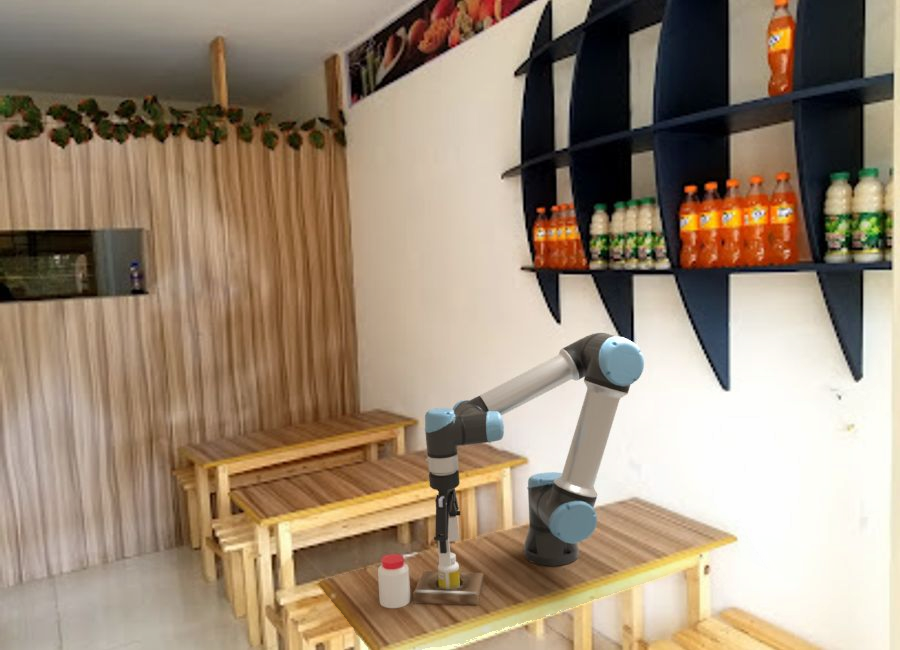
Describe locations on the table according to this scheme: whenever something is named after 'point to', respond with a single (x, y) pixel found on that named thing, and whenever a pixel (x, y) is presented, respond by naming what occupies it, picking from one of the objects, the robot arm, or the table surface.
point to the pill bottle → (394, 582)
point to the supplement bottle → (449, 574)
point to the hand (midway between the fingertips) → (449, 552)
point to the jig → (463, 595)
